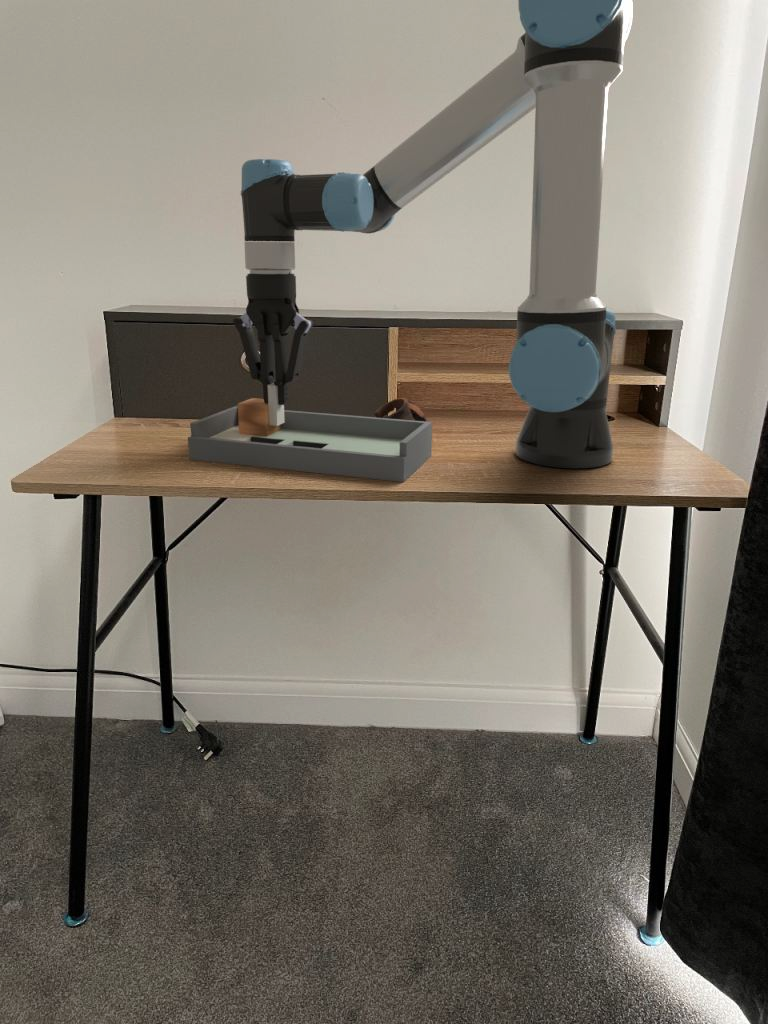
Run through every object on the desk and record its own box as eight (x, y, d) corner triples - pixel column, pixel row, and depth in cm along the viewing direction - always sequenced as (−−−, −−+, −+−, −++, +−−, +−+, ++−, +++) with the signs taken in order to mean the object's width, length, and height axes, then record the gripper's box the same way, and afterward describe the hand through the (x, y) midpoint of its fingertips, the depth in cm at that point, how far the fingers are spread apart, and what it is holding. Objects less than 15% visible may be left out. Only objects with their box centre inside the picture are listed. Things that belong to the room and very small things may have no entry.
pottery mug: (432, 450, 124) (409, 410, 120) (383, 470, 127) (359, 431, 124) (439, 417, 133) (418, 379, 130) (394, 436, 137) (372, 399, 134)
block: (280, 429, 124) (279, 400, 122) (266, 436, 119) (265, 405, 118) (253, 427, 125) (252, 398, 124) (239, 433, 121) (237, 403, 119)
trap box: (431, 455, 118) (432, 422, 117) (403, 482, 105) (404, 444, 103) (237, 437, 129) (235, 406, 127) (189, 459, 115) (186, 424, 114)
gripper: (319, 272, 114) (322, 422, 122) (244, 270, 118) (252, 416, 126) (299, 273, 107) (303, 432, 115) (220, 271, 111) (230, 425, 119)
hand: (277, 423), depth 121 cm, fingers closed
